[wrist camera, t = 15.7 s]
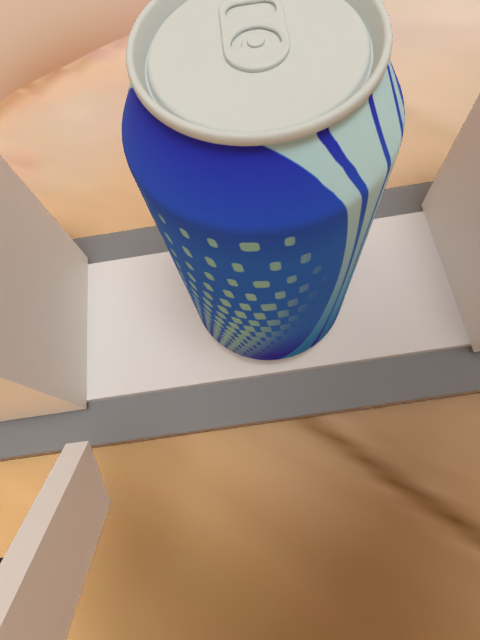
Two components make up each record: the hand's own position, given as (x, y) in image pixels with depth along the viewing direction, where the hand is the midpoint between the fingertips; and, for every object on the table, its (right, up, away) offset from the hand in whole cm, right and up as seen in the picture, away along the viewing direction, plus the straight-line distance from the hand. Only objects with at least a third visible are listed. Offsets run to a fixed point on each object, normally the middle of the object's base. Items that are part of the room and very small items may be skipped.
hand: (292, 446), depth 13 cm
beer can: (0, +5, +12) cm, 13 cm away
